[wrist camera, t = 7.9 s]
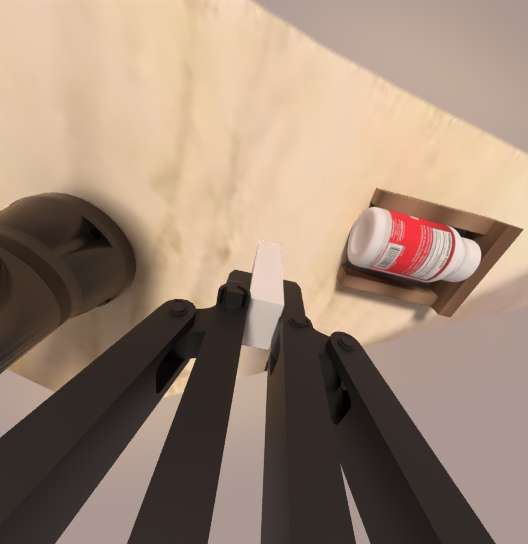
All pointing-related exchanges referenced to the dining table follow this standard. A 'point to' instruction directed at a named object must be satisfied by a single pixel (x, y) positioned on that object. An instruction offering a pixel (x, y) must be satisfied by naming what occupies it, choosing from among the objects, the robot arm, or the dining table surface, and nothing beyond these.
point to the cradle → (438, 293)
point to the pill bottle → (411, 247)
